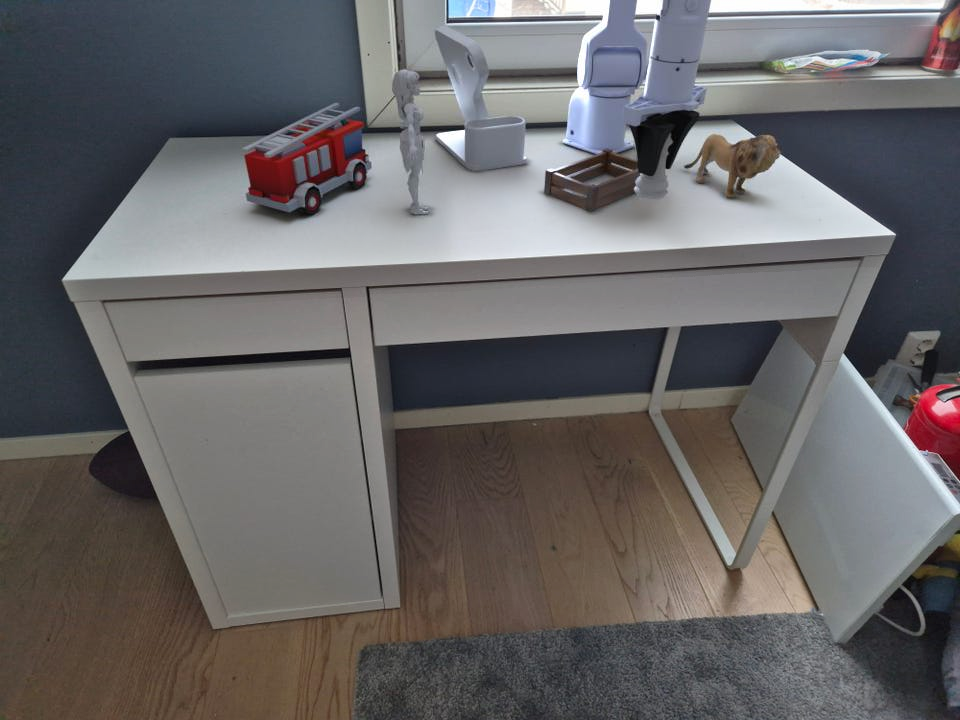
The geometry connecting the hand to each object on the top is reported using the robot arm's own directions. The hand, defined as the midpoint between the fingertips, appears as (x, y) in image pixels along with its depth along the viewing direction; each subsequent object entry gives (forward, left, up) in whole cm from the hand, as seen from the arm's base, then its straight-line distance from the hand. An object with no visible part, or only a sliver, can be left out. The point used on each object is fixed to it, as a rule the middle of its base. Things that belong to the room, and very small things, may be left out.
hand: (654, 170), depth 85 cm
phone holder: (-34, 0, -6) cm, 34 cm away
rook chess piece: (0, 0, -3) cm, 3 cm away
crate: (-10, +2, -6) cm, 12 cm away
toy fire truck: (-36, -30, -6) cm, 47 cm away
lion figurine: (+2, +17, -6) cm, 18 cm away
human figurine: (-22, -23, -6) cm, 32 cm away
